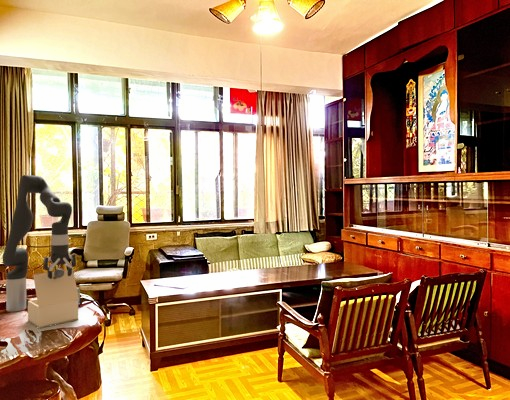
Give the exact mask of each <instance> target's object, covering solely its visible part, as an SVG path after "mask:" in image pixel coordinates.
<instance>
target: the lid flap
mask: <svg viewBox="0 0 510 400" xmlns="http://www.w3.org/2000/svg"><path fill="white" fill-rule="evenodd" d="M32 277H33V281H34V289H35V295H36V299H37V301H38V307H43V306H49V305H54V304H59V303H65V302H70V301H75V300H79V296H78V291H77V288H78V287H77V283H76V278H75V273H74V269H73V268H72V275H71V276H68V269H63V268H56V269H55V270H54V271H52V279H49V278H48V272H44V273H35V274H33V275H32Z"/></svg>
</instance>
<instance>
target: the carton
mask: <svg viewBox="0 0 510 400" xmlns="http://www.w3.org/2000/svg"><path fill="white" fill-rule="evenodd" d="M78 320H79V304H78V300H75V301H70V302H65V303H59V304H54V305H49V306H43V307H38V301H37V298H35V299H31V300H27V322H28V323H30V324H32V325H33V326H34V327H36V328H37V327H38V329H39V328H40V329H42V328H41V327H44V328H47V327H46V326H49V327H51V326H50V325H53V326H56V325H55V324H58V325H60V324H59V323H62V324H66V323H70V321H71V322H75V321H78ZM65 322H66V323H65Z"/></svg>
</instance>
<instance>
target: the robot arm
mask: <svg viewBox="0 0 510 400" xmlns="http://www.w3.org/2000/svg"><path fill="white" fill-rule="evenodd" d="M28 194H40V195H39V201H40V202H41V203H42V204H43V205H44V207H45V208H46V211H47V215H48V216H50V217H52V218H60V220H58V221H55V222H53V223H52V224H51V239H50V253H51V254H50V256H44V257H43V263H42V265H43V266H42V269H43V270H45V271H47V273H48V278H49V279H52V272H53V271H52V270H53V269H54V268H55V267H56V266H61V265H62V266H63V265H65V266H66V267H67V270H68V276H71V275H72V269H73V268H76V266H77V262H76V257H77V256H76V254H73V253H72V254H69V252H70V251H69V250H70V248H69V247H70V246H69V243H70V240H69V225H70V224H69V223H70V220H71V216H72V214H73V206H72V205H71V203H69V202H67V201H65V202H61V200H60V198H59V197H58V195H56V194H55V193H54V192H53V191H52V190H51V188H50V186H49V185H48V183H47V181H46V180H45V179H44V178H43V177H42V176H39V175H29V174H23V175H22V176H21V177H20V178H19V183H18V189H17V198H16V204H15V209H14V212H13V215H12V220H11V225H10V230H9V235H8V238H7V241H6V243H5V247H4V250H3V254H2V264H3V265H4V266H5V267H14V268H13V269H12V270H11V271H9V272H7V273H6V274H5V275H6V283H5V284H6V290H5V291H6V300H5V301H6V304H5V305H6V306H5V308H6V309H5V310H6V312H9V313H11V312H20V311H24V310H25V309H27V273H28V269H29V268H28V265H29V263H28V262H29V254H28V250H27V249H26V248H24V247H19V248H18V246H19V244H20V243H21V242H22V240H23V239H24V238H25V236H26V235H27V234H28V233H29V232H30V230H31V228H32V225H33V221H34V214H33V211H32V209H31V208H30V206H29V203H28ZM69 259H70V260H71V261H70V262H71V263H70V262H69ZM50 261H51V262H50ZM49 262H50V264H49Z"/></svg>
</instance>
